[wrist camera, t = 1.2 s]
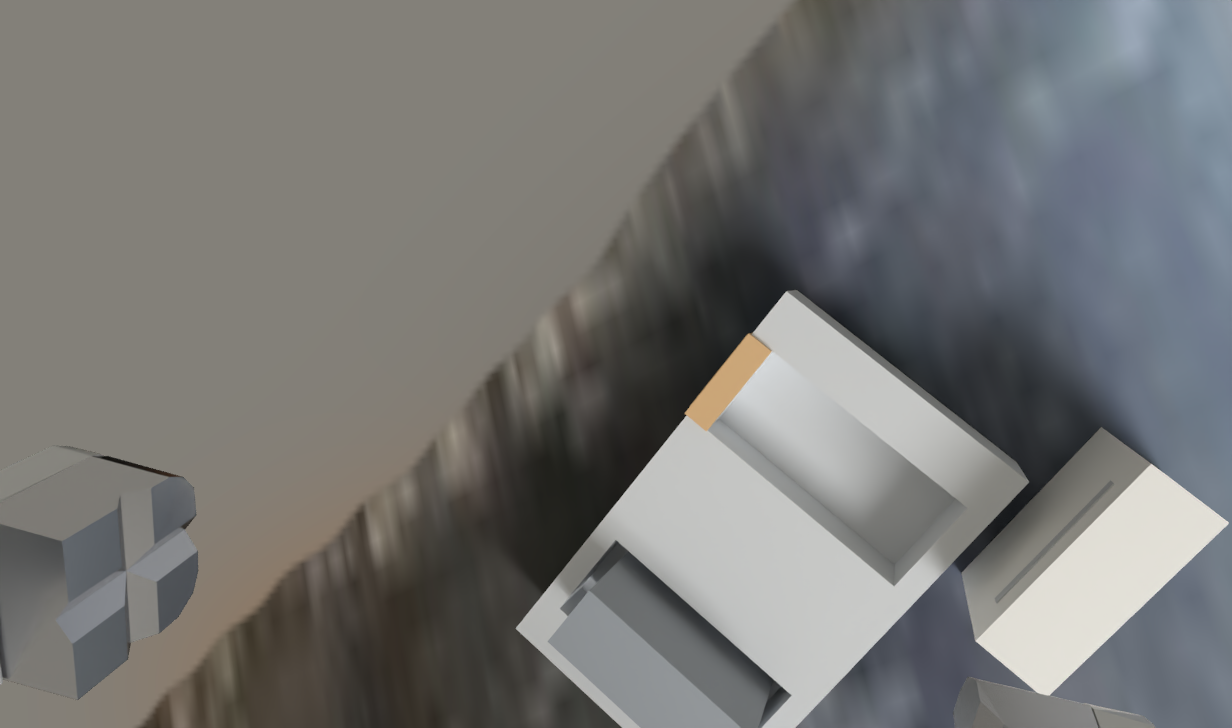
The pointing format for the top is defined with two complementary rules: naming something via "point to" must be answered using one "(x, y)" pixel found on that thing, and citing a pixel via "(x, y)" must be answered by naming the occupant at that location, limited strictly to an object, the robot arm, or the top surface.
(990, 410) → the top surface
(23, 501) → the robot arm
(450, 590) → the top surface
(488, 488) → the top surface
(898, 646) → the top surface
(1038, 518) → the panel
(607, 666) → the rack
